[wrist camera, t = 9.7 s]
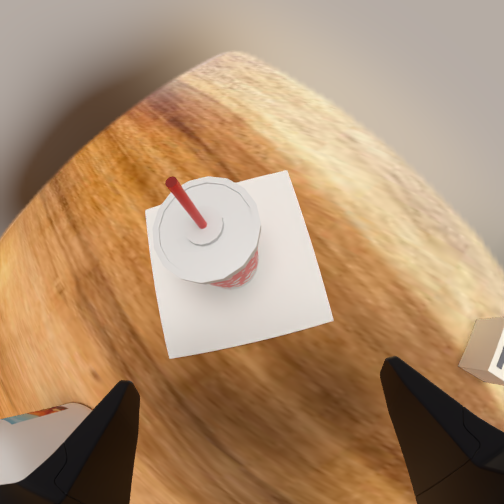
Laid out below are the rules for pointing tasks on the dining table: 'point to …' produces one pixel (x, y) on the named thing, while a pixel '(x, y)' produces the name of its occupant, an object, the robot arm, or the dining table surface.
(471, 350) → the letter block
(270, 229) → the mat
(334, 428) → the dining table surface
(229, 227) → the beverage cup
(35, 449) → the milk bottle
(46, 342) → the dining table surface
